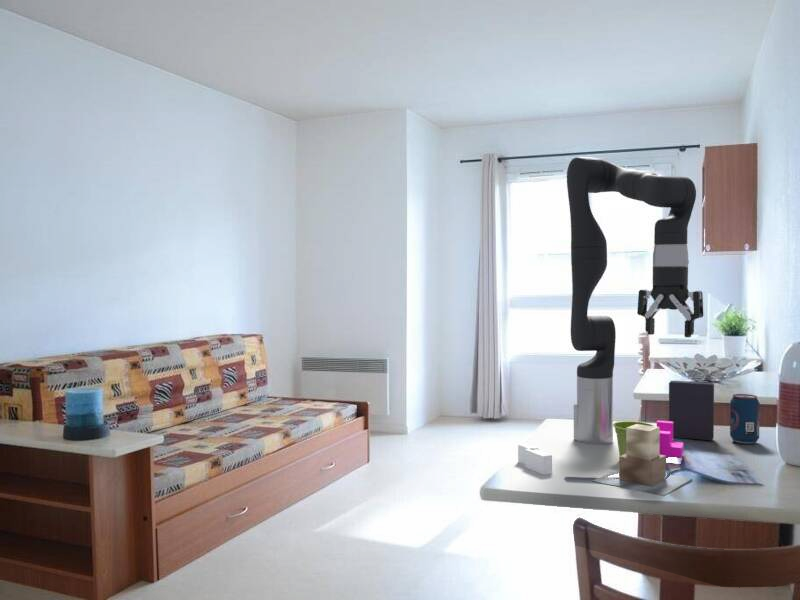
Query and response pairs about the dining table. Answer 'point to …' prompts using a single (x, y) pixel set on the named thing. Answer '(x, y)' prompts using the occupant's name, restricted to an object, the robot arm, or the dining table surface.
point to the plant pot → (624, 433)
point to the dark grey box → (692, 409)
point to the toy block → (669, 440)
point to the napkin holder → (534, 459)
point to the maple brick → (642, 441)
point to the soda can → (744, 418)
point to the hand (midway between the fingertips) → (669, 335)
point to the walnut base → (653, 490)
